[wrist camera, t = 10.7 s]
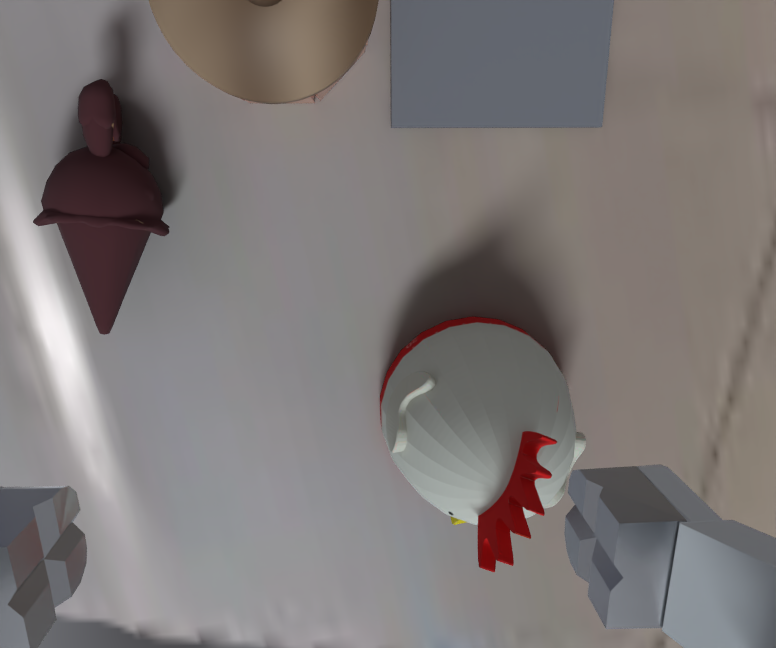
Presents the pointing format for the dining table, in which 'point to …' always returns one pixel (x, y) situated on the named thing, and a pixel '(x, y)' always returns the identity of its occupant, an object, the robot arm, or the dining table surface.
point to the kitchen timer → (481, 427)
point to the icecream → (103, 204)
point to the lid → (267, 43)
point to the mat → (499, 63)
